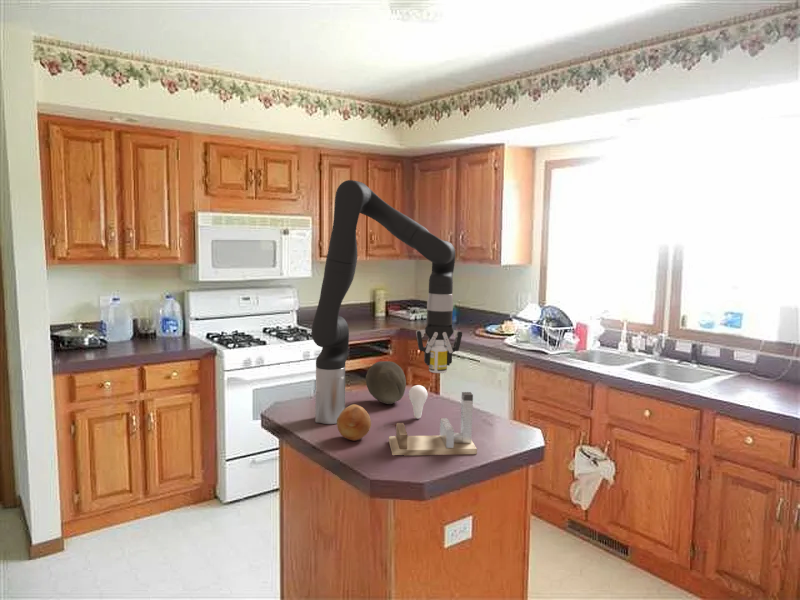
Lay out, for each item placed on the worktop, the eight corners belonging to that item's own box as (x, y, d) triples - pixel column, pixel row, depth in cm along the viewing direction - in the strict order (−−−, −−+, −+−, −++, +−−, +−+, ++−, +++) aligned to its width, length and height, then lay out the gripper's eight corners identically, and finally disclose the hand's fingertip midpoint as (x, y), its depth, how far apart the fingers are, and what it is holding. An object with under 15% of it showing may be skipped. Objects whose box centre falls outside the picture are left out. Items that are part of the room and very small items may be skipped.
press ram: (446, 447, 156) (447, 398, 155) (439, 435, 166) (441, 389, 165) (474, 447, 157) (475, 398, 156) (466, 434, 167) (467, 388, 165)
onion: (332, 435, 169) (332, 402, 168) (363, 431, 173) (364, 399, 172) (342, 446, 160) (343, 411, 159) (376, 442, 164) (376, 408, 163)
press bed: (392, 455, 154) (392, 435, 154) (388, 441, 165) (389, 422, 165) (476, 454, 157) (477, 434, 156) (468, 440, 168) (468, 421, 167)
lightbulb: (427, 416, 189) (428, 383, 188) (426, 422, 183) (427, 388, 182) (409, 415, 190) (409, 382, 189) (407, 421, 184) (408, 387, 183)
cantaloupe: (404, 397, 211) (405, 357, 209) (406, 409, 197) (407, 366, 195) (365, 397, 210) (366, 357, 209) (365, 409, 196) (365, 365, 195)
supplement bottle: (448, 370, 174) (449, 338, 173) (444, 374, 169) (445, 341, 168) (431, 368, 176) (432, 336, 175) (426, 372, 171) (427, 339, 170)
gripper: (417, 309, 166) (415, 367, 168) (466, 310, 167) (464, 367, 169) (414, 306, 173) (412, 362, 175) (461, 307, 175) (459, 362, 177)
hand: (437, 364), depth 172 cm, fingers closed on supplement bottle, 5 cm apart
